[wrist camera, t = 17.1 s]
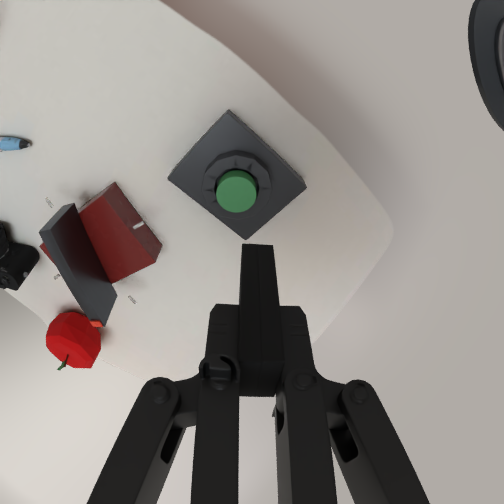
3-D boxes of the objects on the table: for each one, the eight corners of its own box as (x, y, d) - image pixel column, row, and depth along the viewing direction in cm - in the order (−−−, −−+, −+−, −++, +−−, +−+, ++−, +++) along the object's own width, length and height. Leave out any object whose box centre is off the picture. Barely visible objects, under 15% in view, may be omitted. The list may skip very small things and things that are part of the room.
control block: (303, 179, 30) (310, 195, 27) (245, 230, 34) (245, 250, 31) (228, 109, 26) (225, 115, 22) (171, 171, 29) (162, 185, 26)
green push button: (263, 186, 27) (264, 194, 26) (237, 211, 28) (237, 219, 27) (235, 162, 25) (235, 168, 24) (210, 188, 27) (207, 196, 26)
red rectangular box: (108, 143, 27) (93, 154, 24) (193, 262, 37) (189, 281, 34) (28, 217, 31) (14, 231, 28) (103, 302, 41) (95, 319, 38)
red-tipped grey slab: (63, 205, 27) (37, 233, 22) (74, 202, 27) (48, 230, 22) (106, 296, 35) (93, 328, 31) (117, 295, 35) (104, 328, 31)
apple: (70, 294, 40) (47, 341, 32) (117, 331, 45) (101, 379, 37) (49, 315, 44) (29, 356, 36) (90, 346, 49) (76, 388, 41)
